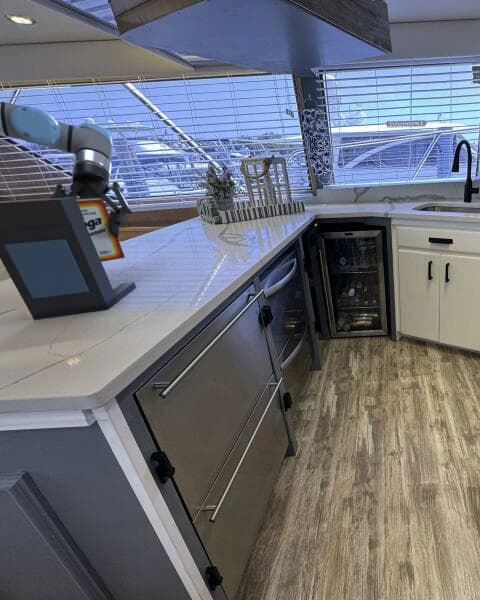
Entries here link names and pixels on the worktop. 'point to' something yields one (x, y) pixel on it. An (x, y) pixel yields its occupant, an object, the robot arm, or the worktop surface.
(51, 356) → the worktop surface
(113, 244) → the baking soda box
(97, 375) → the worktop surface
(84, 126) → the robot arm
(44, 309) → the slanted screen kiosk
